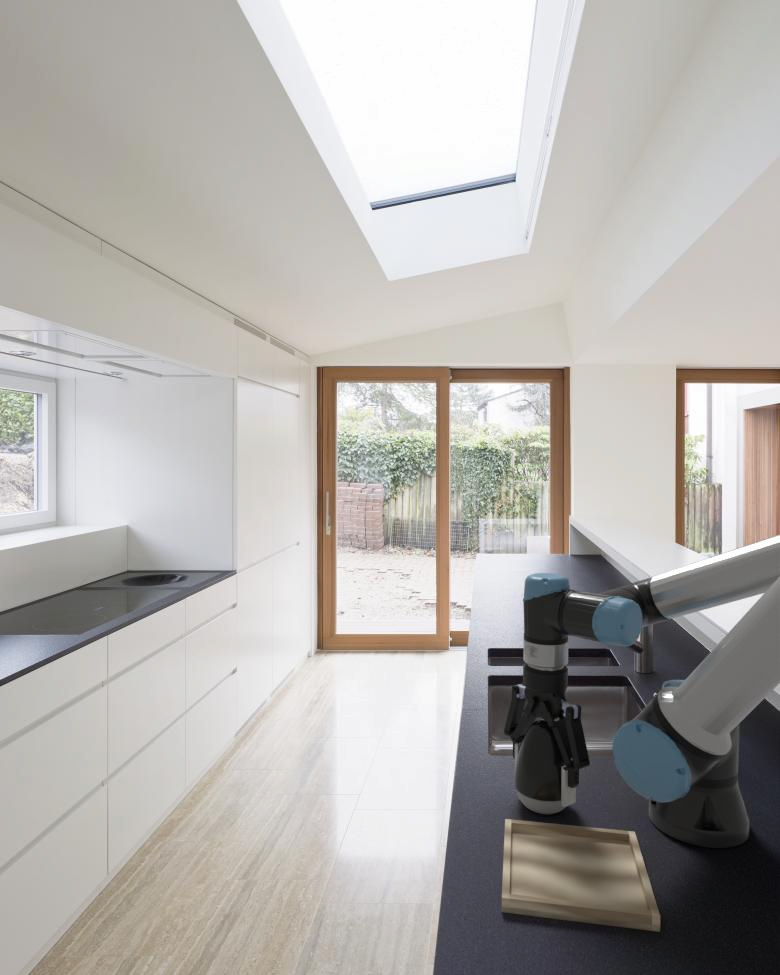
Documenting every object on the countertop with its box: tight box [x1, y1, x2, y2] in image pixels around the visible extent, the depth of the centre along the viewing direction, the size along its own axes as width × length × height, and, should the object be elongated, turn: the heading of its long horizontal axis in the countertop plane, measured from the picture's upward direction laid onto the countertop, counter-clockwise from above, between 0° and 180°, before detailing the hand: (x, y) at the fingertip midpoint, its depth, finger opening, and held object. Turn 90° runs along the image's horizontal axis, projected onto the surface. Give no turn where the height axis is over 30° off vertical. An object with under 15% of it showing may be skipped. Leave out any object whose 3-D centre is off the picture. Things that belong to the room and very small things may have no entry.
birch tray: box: [501, 818, 661, 933], centre depth 98 cm, size 20×20×2 cm
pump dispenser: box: [513, 718, 566, 815], centre depth 117 cm, size 10×10×15 cm
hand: (544, 790), depth 118 cm, fingers closed on pump dispenser, 10 cm apart
